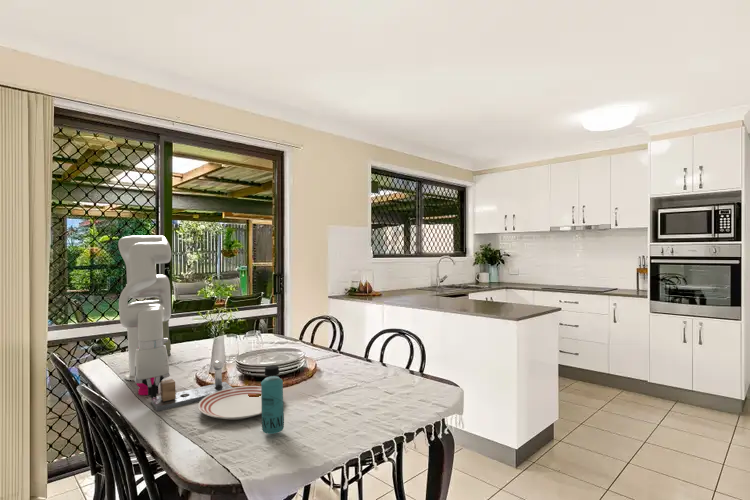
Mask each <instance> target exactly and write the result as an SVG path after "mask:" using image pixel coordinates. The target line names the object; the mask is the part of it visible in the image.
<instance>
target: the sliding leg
mask: <svg viewBox="0 0 750 500" xmlns="http://www.w3.org/2000/svg"><path fill="white" fill-rule="evenodd" d="M159 387H160V388H159V389H160V390H159V391H160V396H161V399H162V400H163V402H164V401H168V400H172V399H176V393H177V392H176V381H175V379H173V378H171V379H166V380H165V379H163V380H162V381H161V382H160V383H159Z"/></svg>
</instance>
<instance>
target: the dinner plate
mask: <svg viewBox="0 0 750 500" xmlns="http://www.w3.org/2000/svg"><path fill="white" fill-rule="evenodd" d="M248 394H261V385H259V386H258V385H245V386H243V385H242V386H237V387H236V386H235V387H233V388H229V389H225V390H221V391H218V392H215V393H212V394H210V395H208V396H206V397H205V398H203V399H202V400H201V401H198V402H199V403H198V404H197V408H198V410H199V412H200V413H202V414H204V415H205V416H208V417H211V418H214V419H215V418H216V419H221V420H222V419H223V420H233V421H235V420H243V419H244V420H245V419H249V418H253V417H256V416H260V415H262V413H261V411H262V403H261V396H259V397H249V396H248Z"/></svg>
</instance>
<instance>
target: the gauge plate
mask: <svg viewBox="0 0 750 500" xmlns="http://www.w3.org/2000/svg"><path fill="white" fill-rule="evenodd" d="M223 367H224V363H223V362H222V361H220V360H216V361H214V362H213V364H212V368H213V370H214V383H212V384H209V385H204V386H200V387H195V388H192V389H186V390H182V391H177V392H176V399H172V400H168V401H164V402H163V400H162V399H161V395H159V396H157V397H156V398H155V397H154V398H151V397H150V400H151V401H150V402H151V405H152V406H153V407H154V408H155V410H156V412H160V411H165V410H168V408H169V409H173V408H177V407H180V406H186V405H189V404H192V403H193V404H194V403H196V402H200V401H201V400H202V399H203V398H205V397H206V396H208V395H210V394H212V393H215V392H218V391H221V390H225V389H229V388H234V387H232V386H231V385H230V384H229V383H228V382H226V381H223V377H222V376H223V375H222V370H223Z"/></svg>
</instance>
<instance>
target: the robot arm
mask: <svg viewBox="0 0 750 500" xmlns="http://www.w3.org/2000/svg"><path fill="white" fill-rule="evenodd" d="M117 246H118V250H119V252H120V256H121V257H122V259H123V261H124V265H125V268H126V269H125V270H126V286H125V287H124V288H123V289H122V291H121V293H120V296H119V298H118V312H119V322H120V325H121V326H122V327H124V328H126V331H127V349H128V350H127V351H128V352H127V353H128V369H129V371H128V373H126V374H125V375H124V379H125V380H127V381H130V380H131V382H132V381H134V383H135V384H136V383H143V384H145V385H146V386H148V395H147V396H148V397H150V399H151V398H156V397H158V396H157V395H159V386H160V382H161V381H164V380H165V379H166V378H170V376H171V373H170V363H169V356H168V355H167V350H166V346H165V345H164V343H166V342H168V338H163V321H167V320H169V321H170V318H171V315H172V301H171V300H172V299H171V297H172V295H171V284H170V282H171V281H170V280H169V279H170V278H169V277H168V276H167V275H166V274H157V268H156V267H157V266H156V265H157V264H158V265H159V264H168V263H170V262H171V260H172V250H171V249H172V248H171V246H170V242H169V241H168V239H167V238H166V237H165V236H164V235H128V236H123V237H121V238H119V240H118V245H117ZM152 297H158V298H159V300H151V301H146V300H140V301H133V302H130V303H128V301H129V299H130V298H131V299H147V298H152ZM138 347H139V349H138ZM153 377H154V383H153V385H152V383H151V379H150V378H153Z"/></svg>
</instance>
